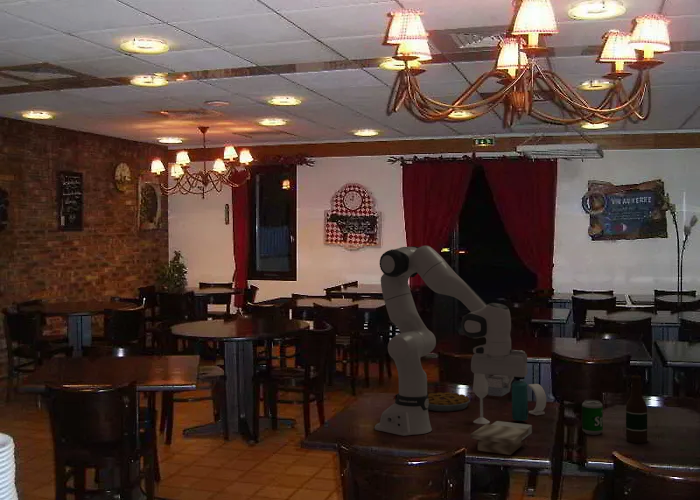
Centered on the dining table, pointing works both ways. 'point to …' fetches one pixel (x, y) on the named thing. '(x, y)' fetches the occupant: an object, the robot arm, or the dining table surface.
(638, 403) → the beer bottle
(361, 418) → the dining table surface
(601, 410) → the soda can
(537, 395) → the headphone stand
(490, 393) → the block
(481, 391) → the champagne flute
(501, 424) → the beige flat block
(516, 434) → the serving riser
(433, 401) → the pie
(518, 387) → the beverage bottle
